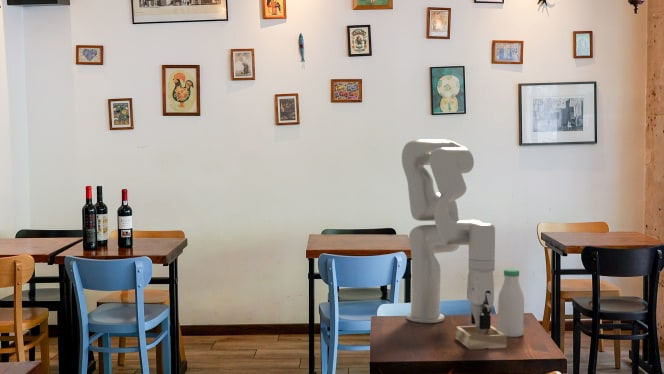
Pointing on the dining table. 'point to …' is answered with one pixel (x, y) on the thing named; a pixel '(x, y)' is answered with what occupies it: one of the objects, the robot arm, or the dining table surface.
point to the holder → (481, 337)
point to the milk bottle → (511, 305)
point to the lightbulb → (477, 316)
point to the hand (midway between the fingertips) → (480, 325)
